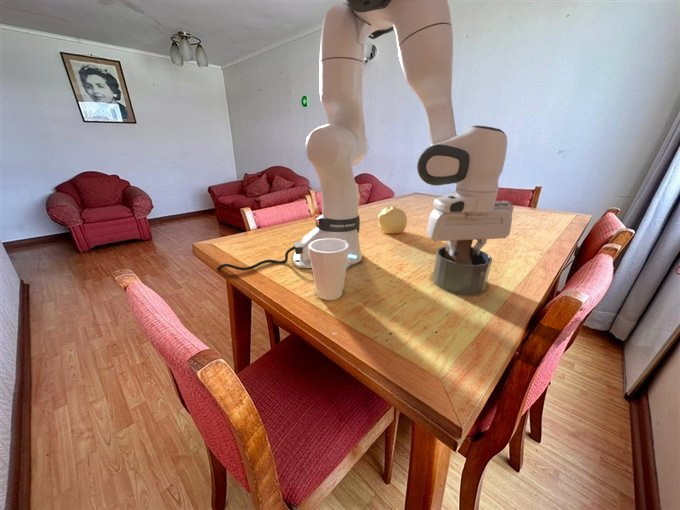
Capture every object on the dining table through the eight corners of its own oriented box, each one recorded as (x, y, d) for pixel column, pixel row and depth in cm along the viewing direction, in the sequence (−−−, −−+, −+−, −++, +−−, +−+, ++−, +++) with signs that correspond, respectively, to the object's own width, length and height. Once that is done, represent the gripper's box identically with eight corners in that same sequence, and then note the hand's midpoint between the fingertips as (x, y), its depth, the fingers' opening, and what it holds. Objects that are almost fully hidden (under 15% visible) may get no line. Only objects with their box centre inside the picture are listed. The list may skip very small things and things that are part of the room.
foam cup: (347, 283, 71) (347, 238, 66) (349, 303, 62) (350, 252, 57) (312, 284, 70) (309, 238, 65) (309, 304, 62) (306, 253, 57)
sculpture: (379, 226, 118) (380, 202, 113) (407, 229, 114) (409, 204, 110) (374, 234, 108) (375, 208, 103) (404, 237, 104) (407, 210, 100)
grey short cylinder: (496, 293, 66) (503, 264, 63) (446, 296, 65) (451, 266, 62) (461, 264, 81) (466, 240, 78) (420, 266, 80) (423, 242, 77)
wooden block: (475, 285, 68) (493, 217, 61) (460, 287, 67) (476, 218, 60) (454, 270, 76) (468, 208, 69) (440, 271, 75) (452, 209, 68)
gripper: (506, 197, 66) (493, 248, 72) (427, 199, 65) (421, 251, 70) (524, 203, 61) (509, 258, 66) (439, 205, 59) (431, 261, 64)
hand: (463, 254), depth 68 cm, fingers closed on wooden block, 4 cm apart
